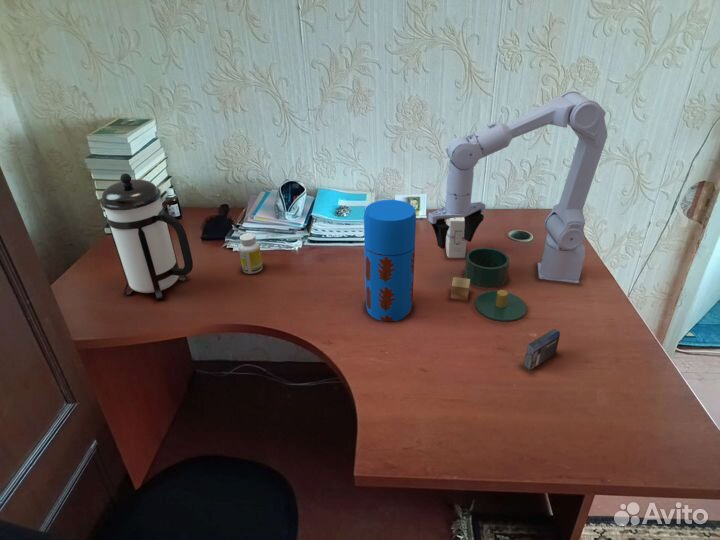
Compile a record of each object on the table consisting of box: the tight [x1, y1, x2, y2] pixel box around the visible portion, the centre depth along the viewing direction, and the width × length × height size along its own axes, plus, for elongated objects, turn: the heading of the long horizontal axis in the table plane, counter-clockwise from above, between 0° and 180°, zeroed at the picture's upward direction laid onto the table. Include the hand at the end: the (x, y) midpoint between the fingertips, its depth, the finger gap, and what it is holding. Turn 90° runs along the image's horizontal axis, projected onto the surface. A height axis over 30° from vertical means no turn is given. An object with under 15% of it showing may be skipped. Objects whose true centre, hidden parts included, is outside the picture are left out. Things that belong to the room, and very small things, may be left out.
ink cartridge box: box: [444, 217, 468, 259], centre depth 133 cm, size 9×5×15 cm, turn 178°
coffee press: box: [99, 173, 194, 302], centre depth 118 cm, size 17×16×30 cm
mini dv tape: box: [523, 328, 561, 371], centre depth 97 cm, size 8×2×6 cm, turn 126°
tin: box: [463, 247, 510, 289], centre depth 124 cm, size 10×10×6 cm
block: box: [450, 276, 471, 301], centre depth 118 cm, size 4×4×4 cm
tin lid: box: [474, 289, 528, 323], centre depth 113 cm, size 11×11×4 cm
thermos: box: [363, 199, 417, 322], centre depth 109 cm, size 11×11×25 cm
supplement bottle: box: [238, 232, 264, 275], centre depth 129 cm, size 5×5×10 cm
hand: (454, 243), depth 120 cm, fingers open, 7 cm apart
